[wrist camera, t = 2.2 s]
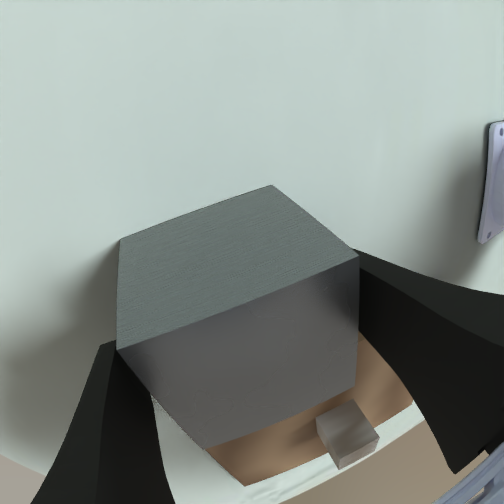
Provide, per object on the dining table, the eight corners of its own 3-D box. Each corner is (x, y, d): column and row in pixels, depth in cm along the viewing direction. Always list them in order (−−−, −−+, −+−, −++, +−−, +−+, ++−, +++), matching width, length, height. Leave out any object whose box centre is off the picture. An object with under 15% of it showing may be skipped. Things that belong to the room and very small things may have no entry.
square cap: (272, 184, 11) (359, 255, 7) (293, 300, 14) (354, 386, 10) (120, 239, 10) (116, 350, 6) (176, 346, 13) (202, 449, 9)
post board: (438, 280, 17) (487, 322, 14) (405, 397, 26) (431, 429, 22) (172, 403, 15) (191, 479, 11) (241, 477, 23) (258, 518, 19)
